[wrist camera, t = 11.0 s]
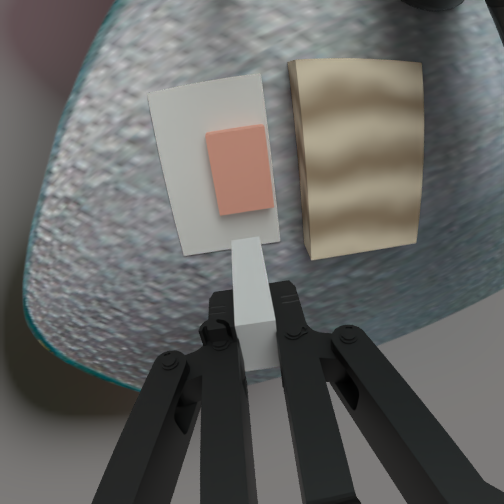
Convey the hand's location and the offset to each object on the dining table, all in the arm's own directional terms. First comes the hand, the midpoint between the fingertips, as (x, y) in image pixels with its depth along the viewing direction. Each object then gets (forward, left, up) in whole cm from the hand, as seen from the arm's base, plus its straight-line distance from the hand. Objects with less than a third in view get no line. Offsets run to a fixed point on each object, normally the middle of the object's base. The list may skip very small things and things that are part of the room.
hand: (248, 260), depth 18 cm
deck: (0, +14, -20) cm, 24 cm away
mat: (0, -2, -20) cm, 20 cm away
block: (0, 0, -18) cm, 18 cm away
